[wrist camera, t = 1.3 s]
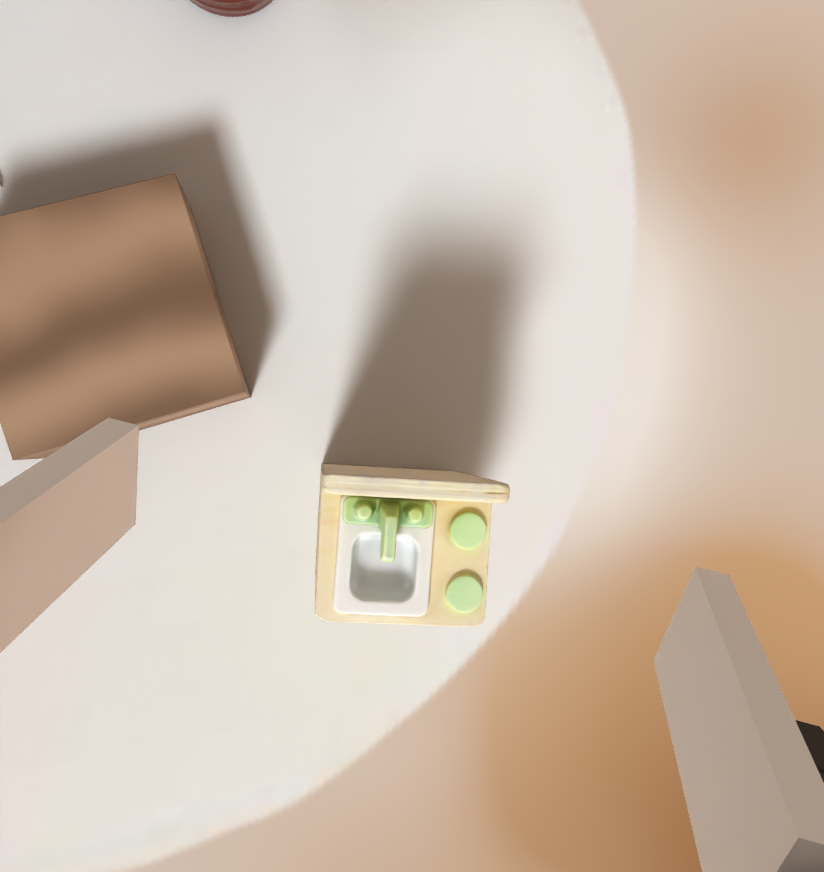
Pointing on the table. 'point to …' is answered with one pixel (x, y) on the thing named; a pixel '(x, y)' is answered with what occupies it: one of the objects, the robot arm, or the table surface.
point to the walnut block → (108, 317)
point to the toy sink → (403, 545)
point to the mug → (232, 6)
